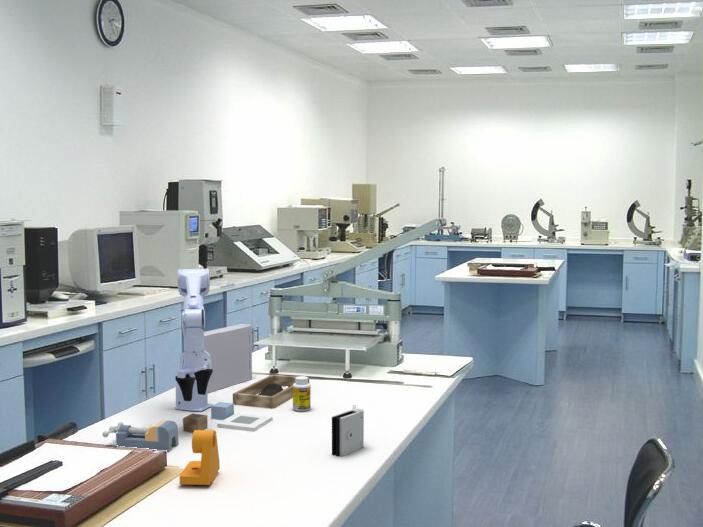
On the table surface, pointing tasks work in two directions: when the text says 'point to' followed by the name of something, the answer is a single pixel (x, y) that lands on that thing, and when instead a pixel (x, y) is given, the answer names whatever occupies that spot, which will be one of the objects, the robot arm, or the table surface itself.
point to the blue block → (222, 410)
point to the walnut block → (194, 422)
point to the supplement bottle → (301, 394)
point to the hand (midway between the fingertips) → (194, 397)
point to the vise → (146, 435)
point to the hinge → (347, 431)
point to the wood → (271, 389)
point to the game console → (229, 355)
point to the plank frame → (251, 399)
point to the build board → (245, 421)
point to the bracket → (202, 459)
